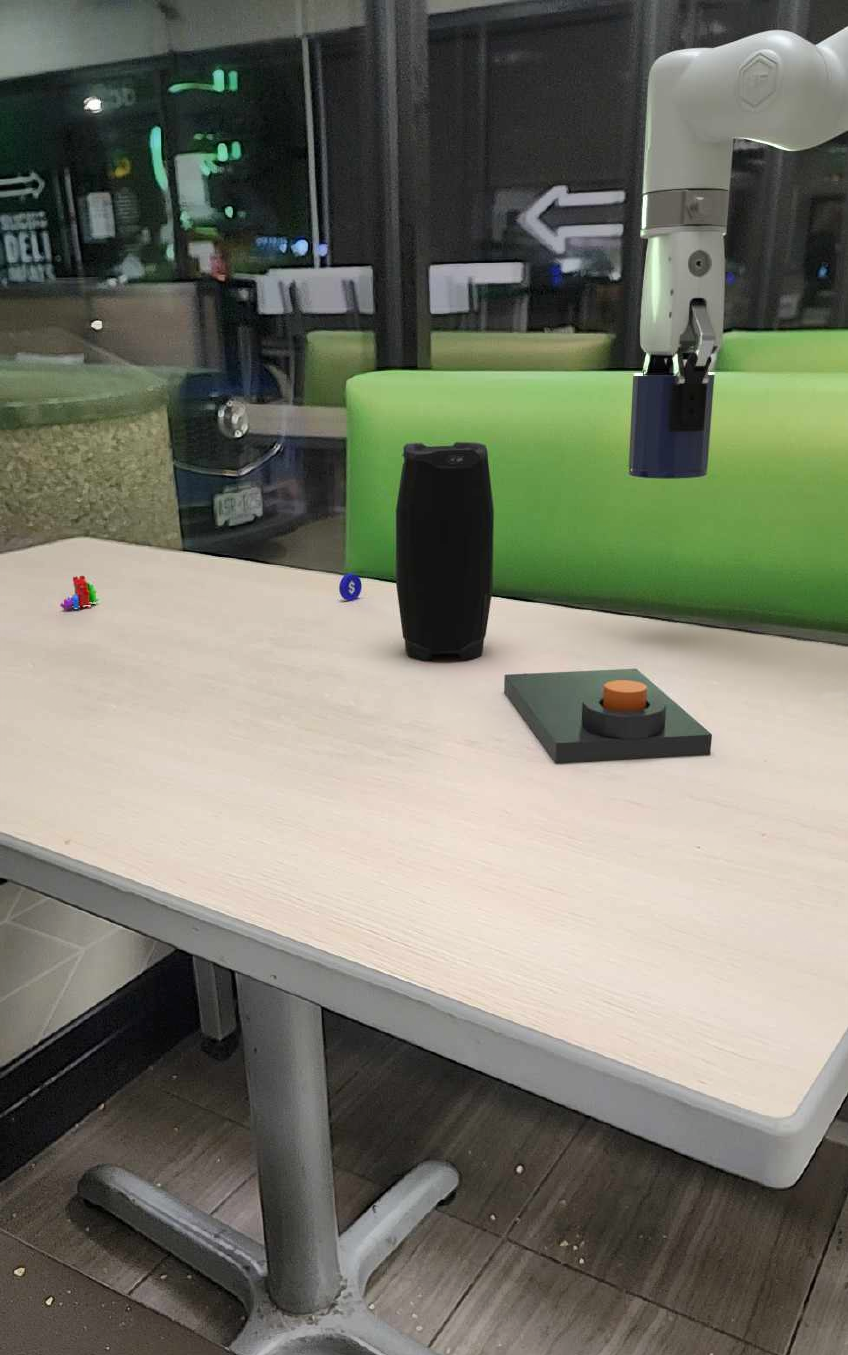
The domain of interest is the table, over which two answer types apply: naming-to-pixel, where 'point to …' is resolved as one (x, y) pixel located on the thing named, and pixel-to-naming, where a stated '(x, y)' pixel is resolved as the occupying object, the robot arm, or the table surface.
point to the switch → (625, 695)
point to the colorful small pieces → (80, 594)
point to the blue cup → (665, 432)
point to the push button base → (602, 718)
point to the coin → (350, 586)
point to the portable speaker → (444, 549)
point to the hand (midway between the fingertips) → (670, 426)
